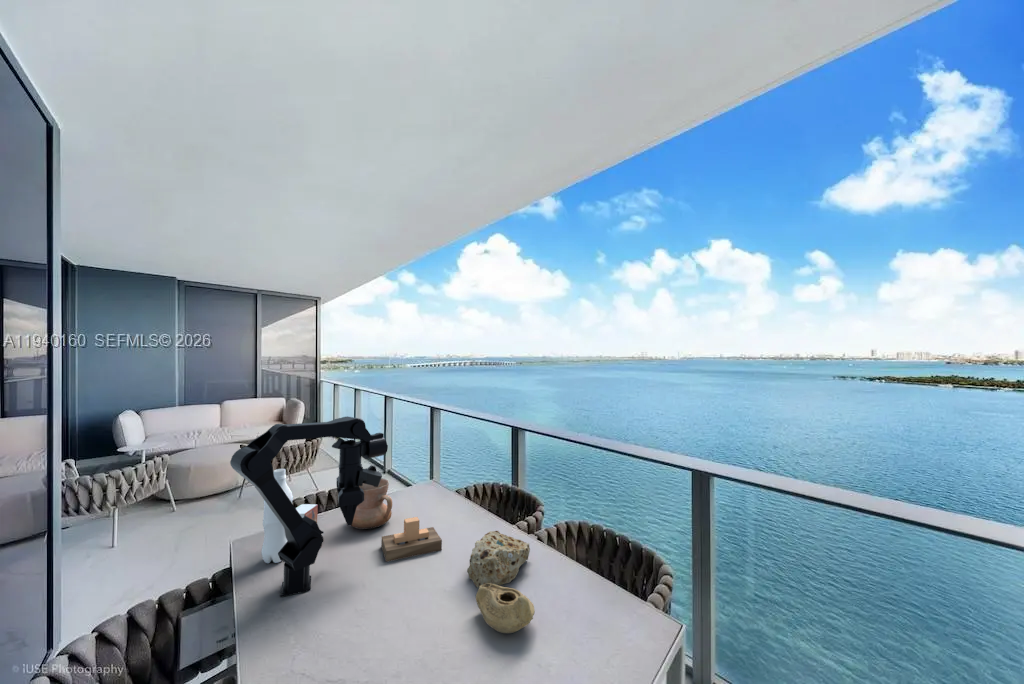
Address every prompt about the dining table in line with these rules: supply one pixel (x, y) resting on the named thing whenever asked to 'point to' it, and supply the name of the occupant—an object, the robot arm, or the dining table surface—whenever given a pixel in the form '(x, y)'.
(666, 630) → the dining table surface
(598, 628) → the dining table surface
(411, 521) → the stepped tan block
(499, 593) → the oil lamp
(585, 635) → the dining table surface
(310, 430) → the robot arm
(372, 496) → the ceramic jug
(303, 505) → the small box
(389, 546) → the brown slotted block
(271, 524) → the water bottle
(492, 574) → the rock
